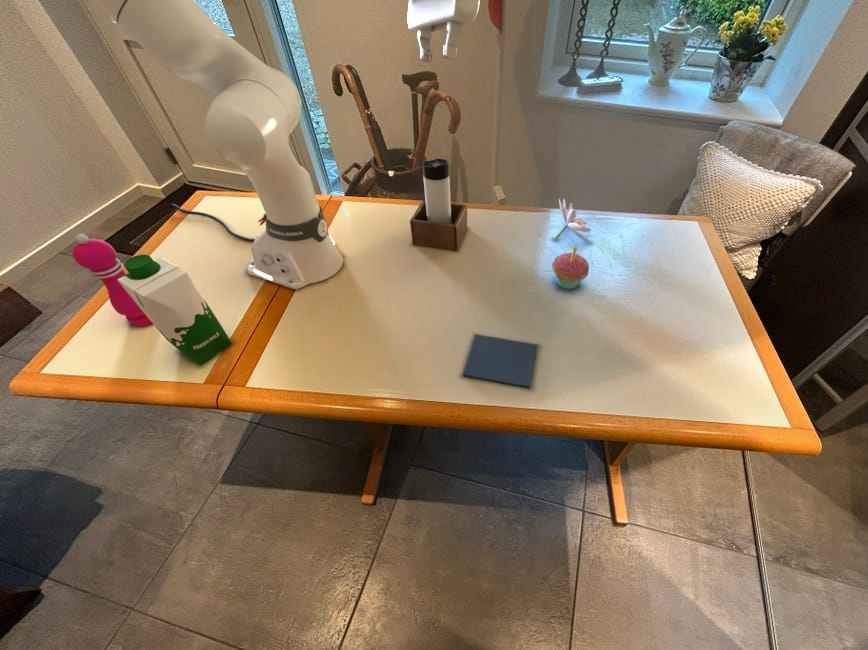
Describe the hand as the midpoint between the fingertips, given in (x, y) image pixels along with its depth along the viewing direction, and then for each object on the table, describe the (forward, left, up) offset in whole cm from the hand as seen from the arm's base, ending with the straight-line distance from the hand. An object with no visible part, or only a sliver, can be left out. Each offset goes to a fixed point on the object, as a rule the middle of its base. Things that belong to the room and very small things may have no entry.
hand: (437, 60), depth 71 cm
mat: (+20, -31, -41) cm, 55 cm away
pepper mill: (-57, -36, -41) cm, 80 cm away
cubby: (-4, +9, -41) cm, 42 cm away
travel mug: (-4, +9, -41) cm, 43 cm away
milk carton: (-39, -41, -41) cm, 71 cm away
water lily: (+31, +17, -41) cm, 54 cm away
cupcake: (+31, -3, -41) cm, 52 cm away
